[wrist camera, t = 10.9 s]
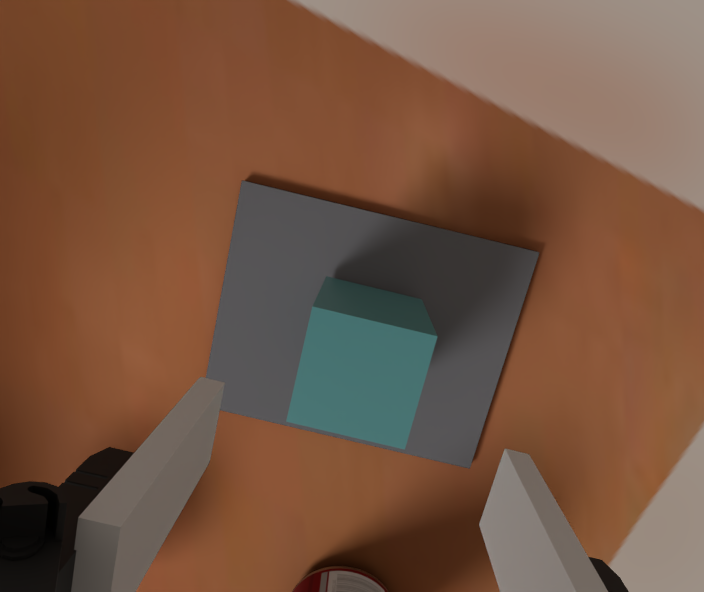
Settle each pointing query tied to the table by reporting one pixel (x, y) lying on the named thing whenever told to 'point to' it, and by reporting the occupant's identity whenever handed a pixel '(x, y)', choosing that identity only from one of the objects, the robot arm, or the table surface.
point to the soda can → (339, 581)
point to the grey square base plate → (374, 271)
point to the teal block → (363, 363)
